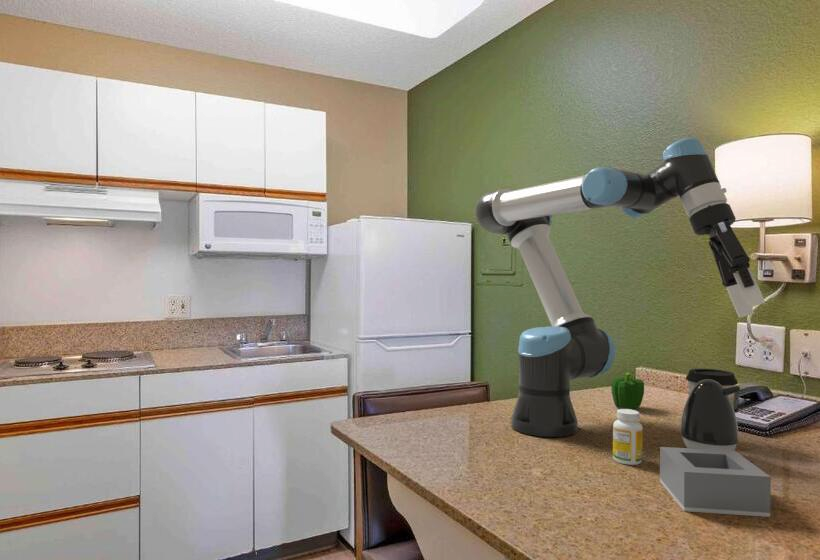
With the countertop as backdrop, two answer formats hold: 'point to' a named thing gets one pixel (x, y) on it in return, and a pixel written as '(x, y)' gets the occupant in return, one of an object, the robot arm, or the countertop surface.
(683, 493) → the well
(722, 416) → the pump dispenser
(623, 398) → the bell pepper
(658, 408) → the countertop surface
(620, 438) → the supplement bottle
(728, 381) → the coffee cup
